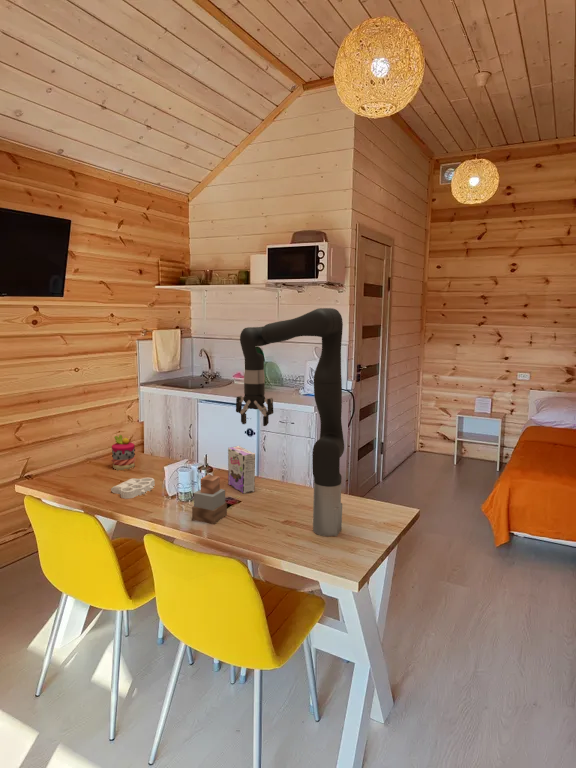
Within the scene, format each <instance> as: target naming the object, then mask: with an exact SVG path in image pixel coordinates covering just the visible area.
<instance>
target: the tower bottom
mask: <svg viewBox="0 0 576 768" xmlns="http://www.w3.org/2000/svg"><path fill="white" fill-rule="evenodd" d="M191 511H192V512H191V516H192V517H191V520H192V521H195V522H201V523H206V524H211V525H215V524H217V523H218V522H219V521H221V520H222V519H224V518H225V517H227V515H228V502H226V501H225V504H223V505H221V506H220V507H218V508H216V509H215V510H213V511H212V510H208V509H203V508H198V507H194V505H193V506H192V507H191ZM224 516H225V517H224ZM223 517H224V518H223ZM220 519H221V520H220ZM216 522H217V523H216Z"/></svg>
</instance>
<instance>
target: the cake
mask: <svg viewBox="0 0 576 768" xmlns="http://www.w3.org/2000/svg"><path fill="white" fill-rule="evenodd" d="M114 440H115V443H113V444H112V445H111V450H112V451H111V453H112V455H111V457H112V459H111V460H110V461H111V462H112V469H113V468H114V469H116V470H115V471H119V470H123V471H125V470H124V469H130V468H132V467H134V466H135V463H136V460H137V458H136V456H135V455H136V453H135V452H136V448H135V447H136V446H135V443H133V442H130V439H129V438H127V437H124V438H123V435H122V434H120V435H118V436H117V435H115V436H114ZM135 467H136V466H135ZM135 467H134V468H135ZM114 469H113V470H114ZM130 470H131V469H130Z"/></svg>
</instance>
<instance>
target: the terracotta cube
mask: <svg viewBox="0 0 576 768" xmlns="http://www.w3.org/2000/svg"><path fill="white" fill-rule="evenodd" d="M220 482H221V476H217V475H212V474H207V475H205V476H202V477H201V478H200V490H201V493H207V494H215V493H216V492H218V491H219V490H220V489H221V483H220Z"/></svg>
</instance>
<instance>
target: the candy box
mask: <svg viewBox="0 0 576 768" xmlns="http://www.w3.org/2000/svg"><path fill="white" fill-rule="evenodd" d="M227 454H228V455H227V459H228V460H227V461H228V462H227V463H228V464H227V465H228V466H227V467H228V468H227V469H228V471H227V472H228V473H227V475H228V477H227V480H228V481H227V482H228V483H227V484H228V485H229V486H230V485H231V487H232V488H233V489H236V490H237V491H238V492H240V493H241V492H242V493H241V494H243V493H244V494H250V493H253V492H255V485H256V484H255V483H256V477H255V476H256V453H254V452H253V451H250V450H248V449H246V448H244V447H242V446H241V445H237V446H231V447H228V449H227ZM249 492H250V493H249Z"/></svg>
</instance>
